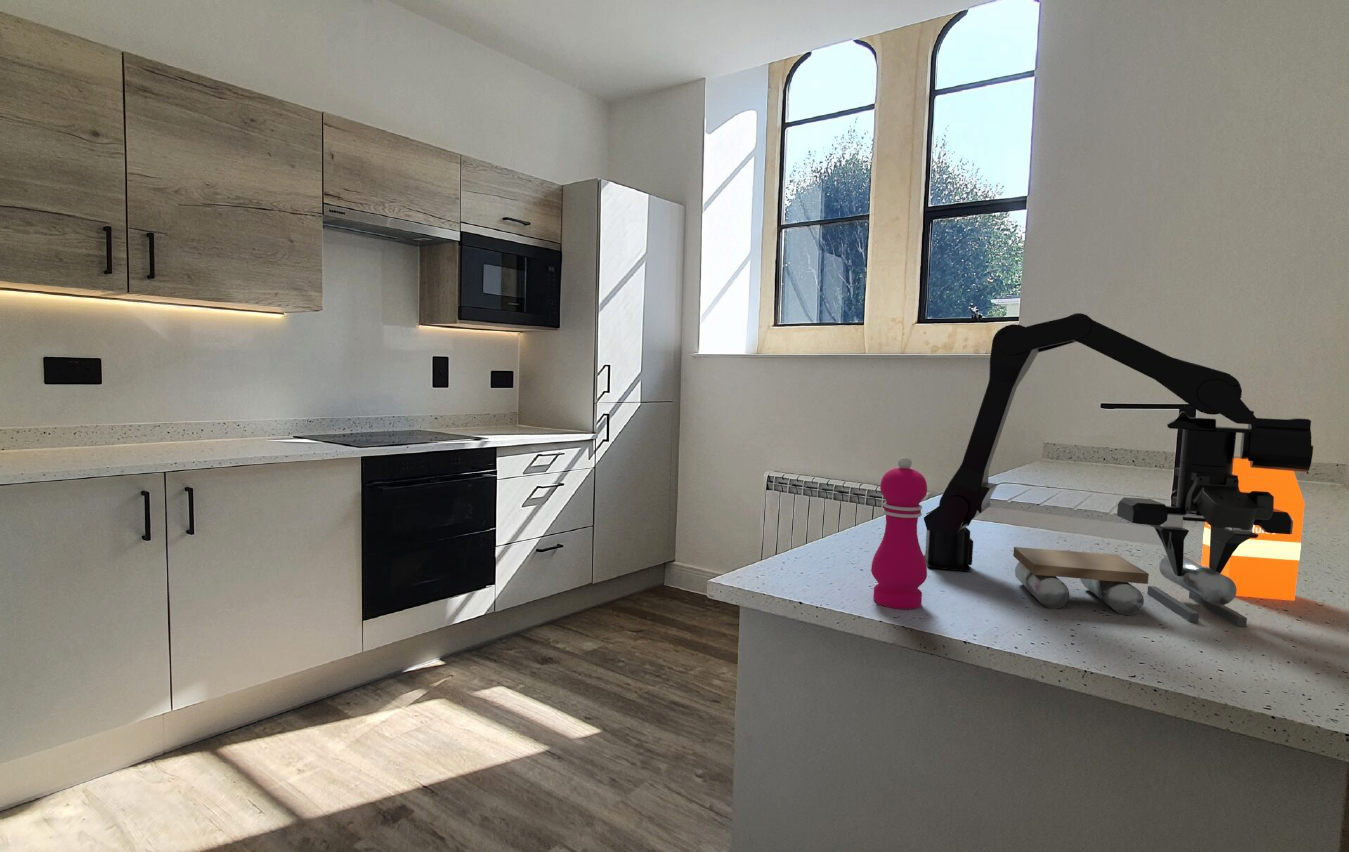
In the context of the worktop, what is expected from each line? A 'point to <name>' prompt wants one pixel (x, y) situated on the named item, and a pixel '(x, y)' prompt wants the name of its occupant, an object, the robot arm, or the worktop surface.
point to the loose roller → (1201, 581)
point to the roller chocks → (1191, 614)
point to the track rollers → (1111, 592)
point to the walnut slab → (1079, 565)
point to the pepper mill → (900, 540)
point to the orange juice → (1266, 538)
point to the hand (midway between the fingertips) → (1195, 577)
